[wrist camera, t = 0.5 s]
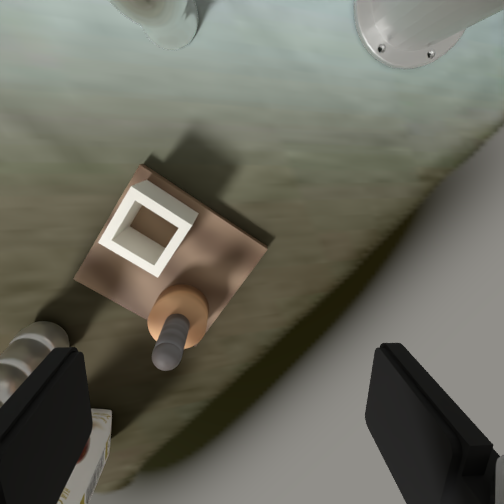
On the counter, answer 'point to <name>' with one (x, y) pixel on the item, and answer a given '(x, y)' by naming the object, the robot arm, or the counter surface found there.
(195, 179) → the counter surface
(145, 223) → the post board
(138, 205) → the hollow square frame
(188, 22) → the beer glass
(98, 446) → the juice carton
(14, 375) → the plastic bottle
